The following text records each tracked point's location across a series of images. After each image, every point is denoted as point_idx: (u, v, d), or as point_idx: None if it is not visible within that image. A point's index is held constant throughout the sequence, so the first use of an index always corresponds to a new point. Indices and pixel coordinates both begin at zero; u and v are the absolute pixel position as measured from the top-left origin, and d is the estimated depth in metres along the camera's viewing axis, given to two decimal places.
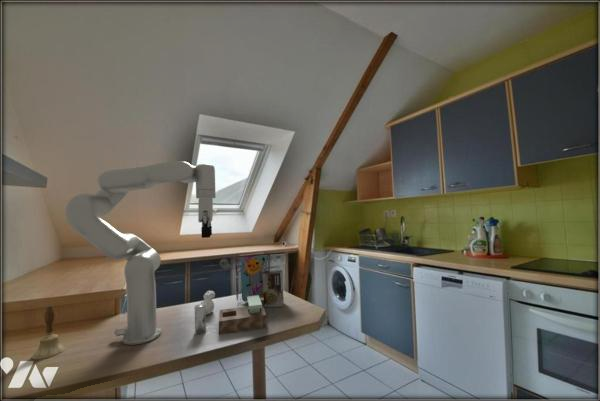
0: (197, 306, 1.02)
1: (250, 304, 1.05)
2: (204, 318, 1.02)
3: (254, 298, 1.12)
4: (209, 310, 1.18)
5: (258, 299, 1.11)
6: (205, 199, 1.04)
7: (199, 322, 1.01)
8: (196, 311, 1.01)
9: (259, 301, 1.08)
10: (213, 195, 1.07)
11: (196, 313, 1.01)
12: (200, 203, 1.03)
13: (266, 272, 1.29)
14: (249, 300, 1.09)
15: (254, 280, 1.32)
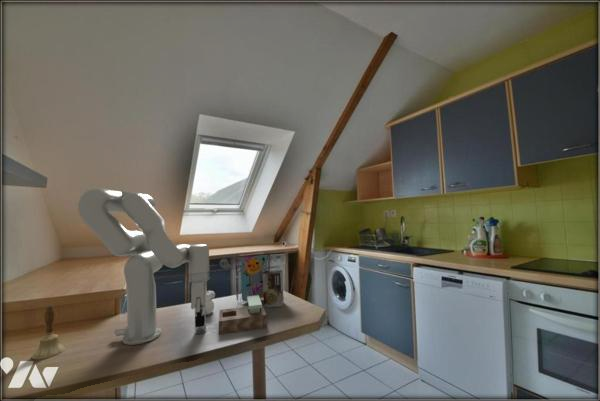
0: None
1: (250, 304, 1.05)
2: (204, 318, 1.02)
3: (254, 298, 1.12)
4: (209, 310, 1.18)
5: (258, 299, 1.11)
6: (198, 285, 0.99)
7: None
8: None
9: (259, 301, 1.08)
10: (207, 278, 1.02)
11: None
12: (193, 289, 0.98)
13: (266, 272, 1.29)
14: (249, 300, 1.09)
15: (254, 280, 1.32)
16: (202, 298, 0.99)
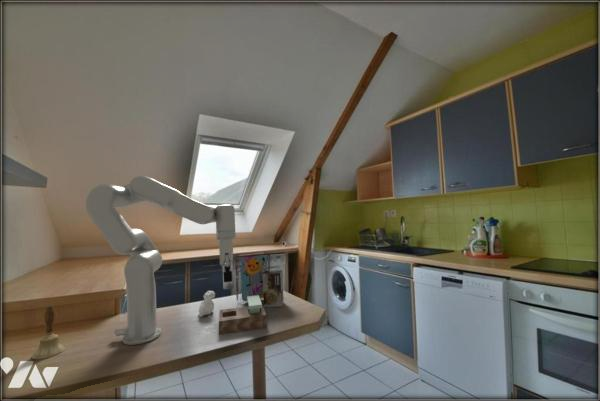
0: (225, 263, 1.07)
1: (250, 304, 1.05)
2: (232, 274, 1.06)
3: (254, 298, 1.12)
4: (209, 310, 1.18)
5: (258, 299, 1.11)
6: (226, 241, 1.03)
7: None
8: None
9: (259, 301, 1.08)
10: (234, 236, 1.06)
11: None
12: (221, 246, 1.02)
13: (266, 272, 1.29)
14: (249, 300, 1.09)
15: (254, 280, 1.32)
16: (230, 254, 1.03)
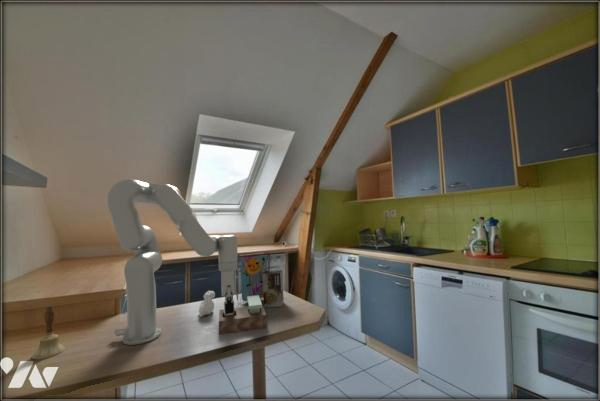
0: None
1: (250, 304, 1.05)
2: (233, 313, 1.06)
3: (254, 298, 1.12)
4: (209, 310, 1.18)
5: (258, 299, 1.11)
6: (228, 273, 1.03)
7: None
8: None
9: (259, 301, 1.08)
10: (236, 267, 1.06)
11: None
12: (223, 278, 1.02)
13: (266, 272, 1.29)
14: (249, 300, 1.09)
15: (254, 280, 1.32)
16: (232, 286, 1.03)
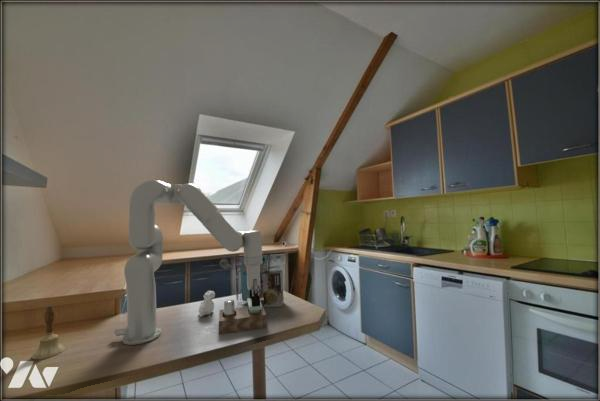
0: (226, 302, 1.06)
1: (250, 306, 1.05)
2: (233, 313, 1.06)
3: None
4: (209, 310, 1.18)
5: None
6: (254, 268, 1.06)
7: None
8: (226, 306, 1.05)
9: None
10: (261, 261, 1.09)
11: (226, 308, 1.05)
12: (250, 272, 1.05)
13: (266, 272, 1.29)
14: (249, 302, 1.09)
15: None
16: (258, 280, 1.05)
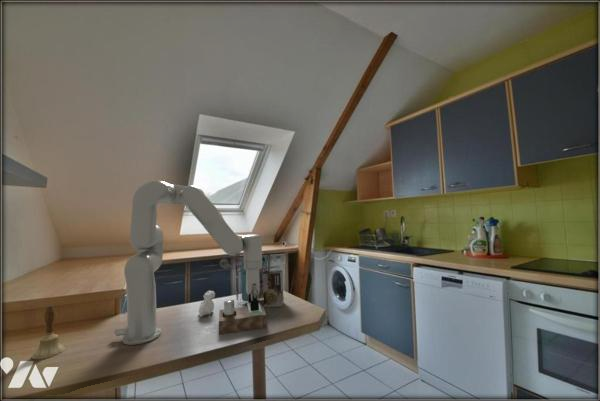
0: (226, 301, 1.06)
1: (251, 311, 1.05)
2: (233, 313, 1.06)
3: None
4: (209, 310, 1.18)
5: None
6: (254, 272, 1.05)
7: None
8: (226, 306, 1.05)
9: (259, 308, 1.08)
10: (260, 266, 1.09)
11: (226, 308, 1.05)
12: (249, 276, 1.05)
13: (266, 272, 1.29)
14: (249, 307, 1.09)
15: None
16: (257, 284, 1.05)
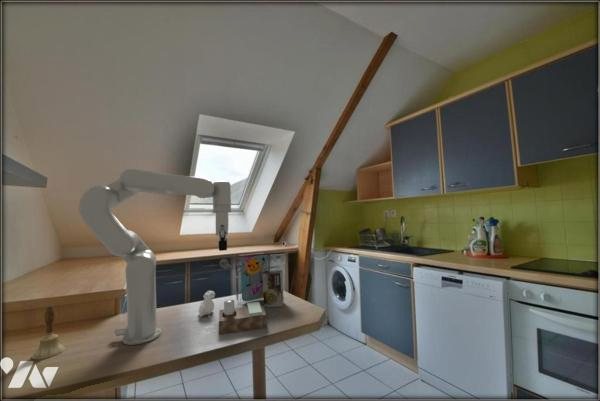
0: (226, 301, 1.06)
1: (251, 311, 1.05)
2: (233, 313, 1.06)
3: (254, 305, 1.12)
4: (209, 310, 1.18)
5: (258, 305, 1.11)
6: (222, 214, 1.11)
7: None
8: (226, 306, 1.05)
9: (259, 308, 1.08)
10: (229, 210, 1.14)
11: (226, 308, 1.05)
12: (217, 218, 1.10)
13: (266, 272, 1.29)
14: (249, 307, 1.09)
15: (254, 280, 1.32)
16: (225, 226, 1.11)
